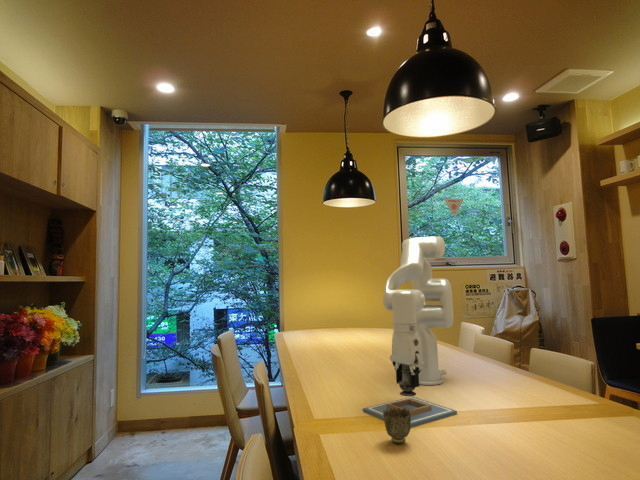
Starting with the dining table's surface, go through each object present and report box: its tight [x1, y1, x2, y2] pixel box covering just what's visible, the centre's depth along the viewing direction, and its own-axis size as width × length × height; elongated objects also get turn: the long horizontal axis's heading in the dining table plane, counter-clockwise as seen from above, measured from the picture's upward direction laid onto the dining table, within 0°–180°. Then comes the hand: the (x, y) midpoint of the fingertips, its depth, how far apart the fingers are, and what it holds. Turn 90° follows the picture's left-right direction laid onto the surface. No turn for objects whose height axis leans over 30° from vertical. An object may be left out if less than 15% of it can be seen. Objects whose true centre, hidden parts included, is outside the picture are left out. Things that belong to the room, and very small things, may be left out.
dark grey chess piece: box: [398, 364, 417, 397], centre depth 133 cm, size 6×6×12 cm
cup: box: [383, 408, 411, 446], centre depth 109 cm, size 8×7×8 cm
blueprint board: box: [362, 396, 458, 429], centre depth 132 cm, size 22×20×2 cm
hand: (407, 384), depth 133 cm, fingers closed on dark grey chess piece, 5 cm apart
